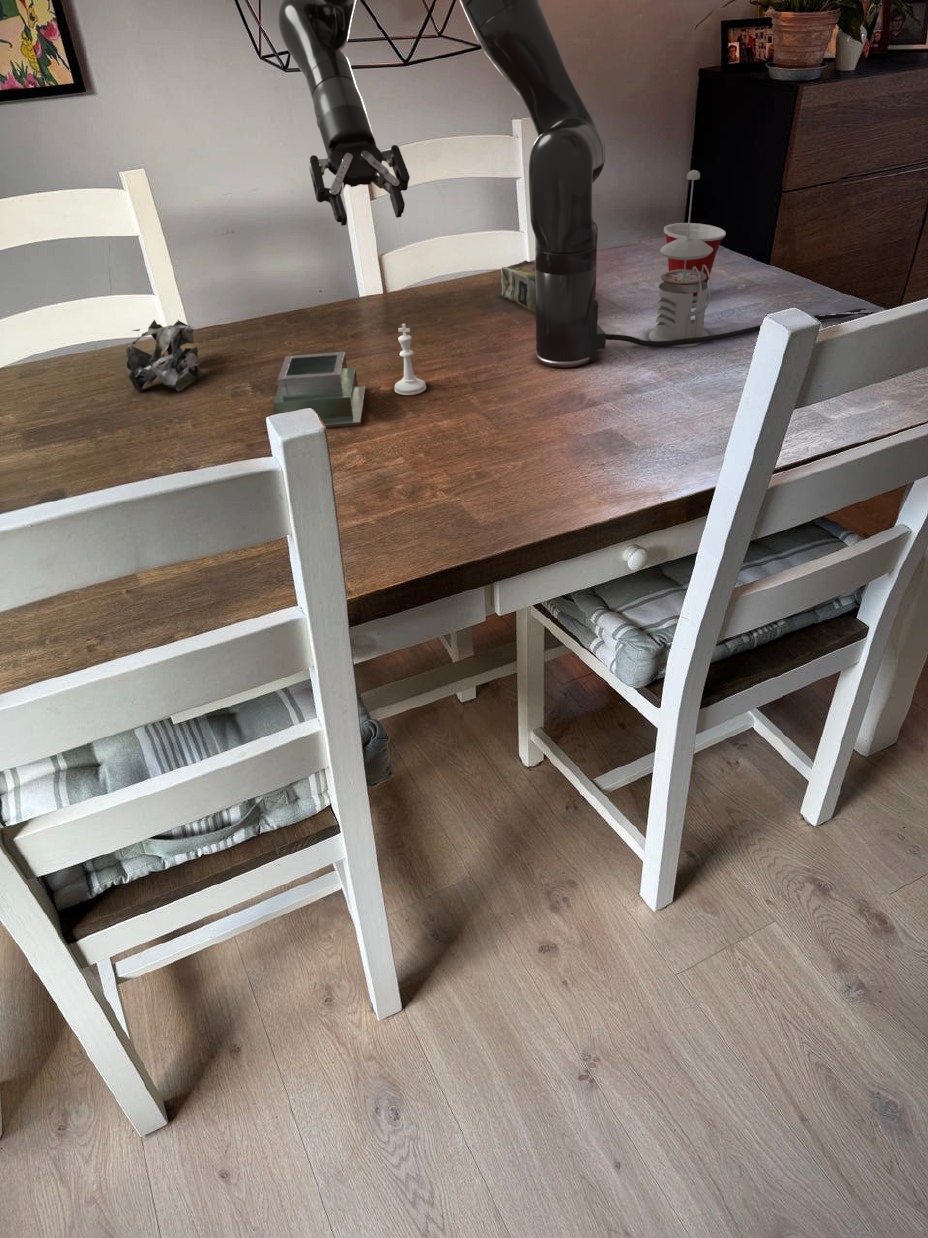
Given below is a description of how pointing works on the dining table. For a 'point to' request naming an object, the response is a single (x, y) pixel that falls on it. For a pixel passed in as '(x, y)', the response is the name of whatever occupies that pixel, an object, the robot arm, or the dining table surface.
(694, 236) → the plastic cup
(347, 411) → the stand
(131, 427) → the dining table surface
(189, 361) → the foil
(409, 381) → the chess piece
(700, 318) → the french press
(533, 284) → the juice carton
